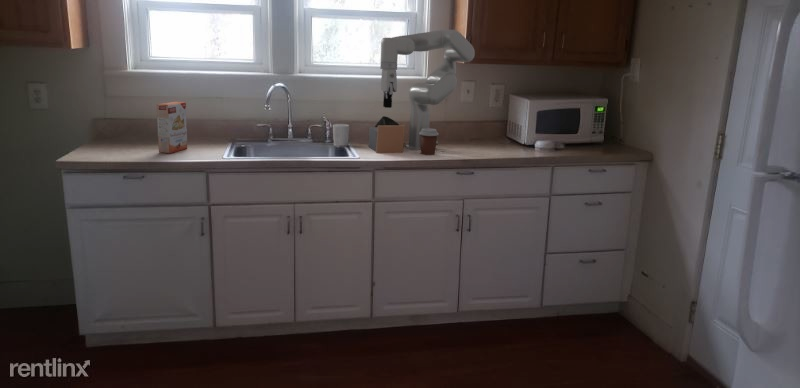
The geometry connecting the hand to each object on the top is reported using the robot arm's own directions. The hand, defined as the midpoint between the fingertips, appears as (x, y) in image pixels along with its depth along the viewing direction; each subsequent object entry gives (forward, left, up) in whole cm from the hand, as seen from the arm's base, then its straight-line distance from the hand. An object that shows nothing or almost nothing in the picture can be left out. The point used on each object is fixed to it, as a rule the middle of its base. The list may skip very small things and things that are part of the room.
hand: (387, 107), depth 273 cm
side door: (-1, +3, -21) cm, 21 cm away
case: (-1, -5, -21) cm, 22 cm away
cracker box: (+93, -13, -21) cm, 96 cm away
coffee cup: (-18, +8, -21) cm, 29 cm away
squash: (-7, -21, -21) cm, 31 cm away
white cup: (+17, -20, -21) cm, 34 cm away
